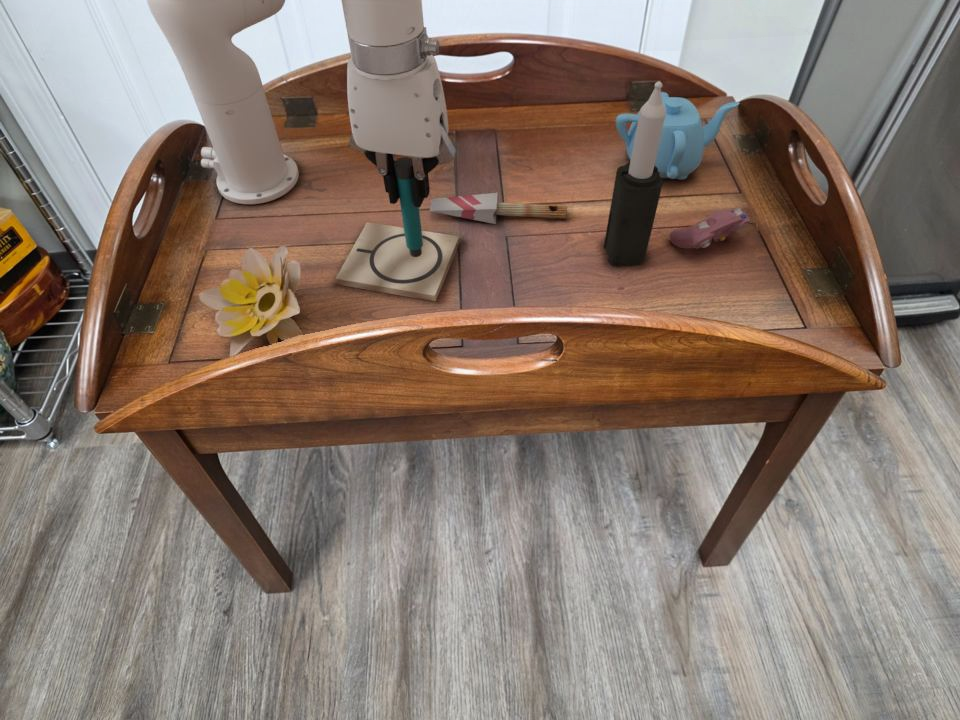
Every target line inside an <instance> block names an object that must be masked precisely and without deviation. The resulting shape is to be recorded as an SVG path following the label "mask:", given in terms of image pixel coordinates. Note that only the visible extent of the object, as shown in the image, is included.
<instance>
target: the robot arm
mask: <svg viewBox="0 0 960 720" xmlns="http://www.w3.org/2000/svg"><path fill="white" fill-rule="evenodd" d="M146 2H147V5H148V8H149V10H150V13H151V14H152V16H153V18H154V20H155V22H156V24H157V25H158V27H159V29H160V30H161V32H162V34H163V36H164V37H165V38H166V41H167V43H168V44H169V46H170V47H171V49H172V52H173V54H174V55H175V57H176V60H177V62H178V64H179V66H180V68H181V71H182V73H183V75H184V77H185V80H186V83H187V85H188V87H189V90H190V93H191V95H192V97H193V100H194V104H195V105H196V107H197V111H198V112H199V115H200V118H201V120H202V123H203V125H204V128H205V130H206V133H207V136H208V139H209V141H210V142H211V146H212V147H210V146H209V147H208V146H203V147H201V150H200V155H201V160H200V167H201V168H204V169H213V170H214V171H216V174H217V176H216V182H215V183H216V187H217V189H218V192H219V194H220V195H221V196H222V197H223V198H224V199H226V200H228V201H230V202H232V203H235V204H240V205H260V204H264V203H268V202H271V201H272V202H273V201H274V200H276V199H279V198H281V197H283V196H284V195H286V194H288V193H289V192H290V191H291V190H292V189H293V188H294V187H295V185H296V184H297V182H298V179H299V176H300V172H299V168H298V164H297V162H295V160H294V159H292V158H291V157H290V156H288V155H286V154H284V152H283V150H282V146H281V143H280V139H279V135H278V133H277V129H276V125H275V122H274V119H273V115H272V111H271V109H270V106H269V103H268V102H269V101H268V99H267V96H266V92H265V88H264V85H263V82H262V79H261V76H260V75H261V74H260V72H259V68H258V67H257V65H256V63H255V62H254V60H253V59H252V57H251V56H250V55H249V54H248V53H246V52H245V51H244V50H242V49H241V48H239V47H238V46H236V45H235V44H234V43H233V41H232V40H233V39H232V38H233V37H234V36H235V35H237V34H238V33H241V32H242V31H244V30H246V29H248V28H250V27H252V26H254V25H256V24H258V23H261V22H263V21H265V20H267V19H269V18H271V17H272V16H274V15H276V14H277V13H279V12H280V11H281V10H282V8H283V7H284V5H285V2H286V0H146ZM341 5H342V11H343V17H344V22H345V28H346V34H347V39H348V45H349V50H350V57H349V59H348V60H347V69H346V90H347V91H346V92H347V93H346V94H347V103H348V104H347V107H348V115H349V122H350V128H351V135H350V138H349V141H348V147H349V148H350V149H351V150H352V151H355V152H357V153H359V154H361V155H363V156H365V158H366V159H367V160H368V161H370V162H371V163H372V165H374V166H375V167H376V169H377V173H378V174H380V175H381V176H382V178H383V179H382V180H383V185H384V190H385V193H387V194H388V199H389V204H391V205H396V204H397V203H398V201H399V200H400V198H399V192H398V185H397V178H396V176H395V170H394V161H395V160H396V155H398V156H404V157H410V158H411V159H412V164H413V170H414V172H413V173H414V175H413V177H412V179H411V188H412V195H413V203H414V206H415V207H419V209H420V208H421V206H422V204H423V202H424V200H425V199H428V197H429V195H430V190H431V189H430V177H429V174H430V173H431V172H432V171H433V170H435V168H437V166H439V165H440V166H441V165H445V164H449V163H451V162H453V161H454V160H455V158H456V156H457V153H458V152H457V150H456V148H455V145H454V144H453V142H452V141H451V140H452V139H450V137H449V130H450V129H449V116H448V109H447V103H446V98H445V92H444V87H443V82H442V78H441V74H440V71H439V66H438V63H437V60H436V58H435V57H436V56H438V55H439V53H440V41H439V40H438V39H432V38H431V37H429V35H428V32H427V27H426V26H425V24H424V23H425V22H424V13H423V12H424V11H423V2H422V0H341ZM434 55H435V56H434Z"/></svg>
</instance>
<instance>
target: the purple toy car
mask: <svg viewBox="0 0 960 720" xmlns="http://www.w3.org/2000/svg"><path fill="white" fill-rule="evenodd" d="M750 223H751V218H749V216H748V214H747V213H746V212H745V211H743V209H741V207H734V208H730V209H726V210H724V209H723V210H717V211H714V212H712V213H711V214H710V215H709V216H708V217H706V218H704V219H702V220H700V221H698V222H696V223H694V224H693V225H691V226H689V227H685V228H675V229H673V230H672V231H670V233H669V241H670V242H671V243H672V245H674V246H675V247H678V248H682V249H688V248H689V249H690V248H692V249H694V248H695V250H698V249H700V248H701V249H702V248H705V249H706V248H707V247H709V246H710V245H711V243H712V240H713V242H714V243H716V242H718V241H720V242H723V241H724V240H726V238H727V237H728V236H730V235H731V234H734V233H735V232H738V231H739V230H742V229H743V228H744V227H745V226H747V225H748V224H750Z"/></svg>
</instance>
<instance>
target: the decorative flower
mask: <svg viewBox="0 0 960 720" xmlns="http://www.w3.org/2000/svg"><path fill="white" fill-rule="evenodd" d="M288 254H289V250H288V247H287V246H285V245H281V246H278V247H277V249H276V250H275V251H274V252H273V254H272V255H271V259H270V261H269V263H268V260H267V259H266V258H265V257H264V256H263V255H262V254H261V253H259V251H257V250H256V249H255V248H253V247H249V248H248V249H247V250H246V252H245V253H244V254H243V255H242V258H241V263H240V265H241V269H237V268H236V269H234V268H232V269H231V270H230V271H229V274H228V278H225V279H224V280H223V281H222V282H220V284H219V286H216V287H213V288H210V289H206V290H203V291H201V292H199V293H198V297H199V301H200V302H202V303H203V305H205V306H207V307H209V308H211V309H213V310H216V311H217V312H216V313H215V318H214V322H215V323H216V324H217V325H218V327H217V329H216V332H217V334H218V335H219V337H225V338H226V337H230V345H229V346H230V347H229V358H230V357H231V356H233V355H236V354H237V355H239V353H241V352H242V351H243V350H244V349H245V348H246V347H247V346H248V345H249V344H250V343H251V341H252V340H253V339H254V338H255V337H260V336H262V335H264V334H265V335H266V338H267V341H268V343H269V344H270V345H271V344H272V343H275V342H277V343H278V340H279V339H280V340H281V341H284V340H285V339H288V338H292V337H295V336H298V335H302V334H303V332H302V330H301V328H300V327H299V326H298V324H297V323H296V321H295V320H293V318H291V317H293V316H296V315H298V314H300V312H301V309H300V305H299V302H298V299H297V297H298V296H297V295H295V294H294V293H296V290H297V289H298V286H299V284H300V281H301V280H300V279H301V265H300V262H298V261H296V260H295V259H293V260H290V261H289V262H288V263H286V261H287V257H288ZM237 355H236V356H237Z"/></svg>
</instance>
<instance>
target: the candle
mask: <svg viewBox="0 0 960 720" xmlns="http://www.w3.org/2000/svg"><path fill="white" fill-rule="evenodd" d="M662 88H663V83H662V82H661V81H660V80H658V81H656V82H655V83H654V89H653V91H652V93H651V94H650V96H649V97H648V100H647V101H646V102H644V104H643V105H642V106H641V107H640V110H639V111H640V114H639V119H638V124H637V129H636V135H635V140H634V145H633V151H632V156H631V161H629V162H627V163H626V164H624V165H620V166H618V167H617V169H616V171H615V172H616V173H615V179H614V183H613V184H614V185H613V189H612V190H613V191H612V196H611V202H610V207H609V214H608V220H607V225H606V231H605V238H604V243H603V249H604V250H605V252H606V256H607V262H608V264H609V265H611V266H613V267H626V266H639V265H642V264H644V263H645V260H646V256H647V251H648V247H649V243H650V239H651V235H652V230H653V227H654V222H655V219H656V215H657V210H658V206H659V201H660V197H661V193H662V188H663V185H664V183H663V180H662V178H661V177H660V175H659V174H660V173H659V172H658V168H657V167H656V166H655V160H656V156H657V151H658V147H659V142H660V138H661V133H662V129H663V124H664V120H665V115H666V109H665V107H664V105H663V103H662V95H661V92H662Z"/></svg>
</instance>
